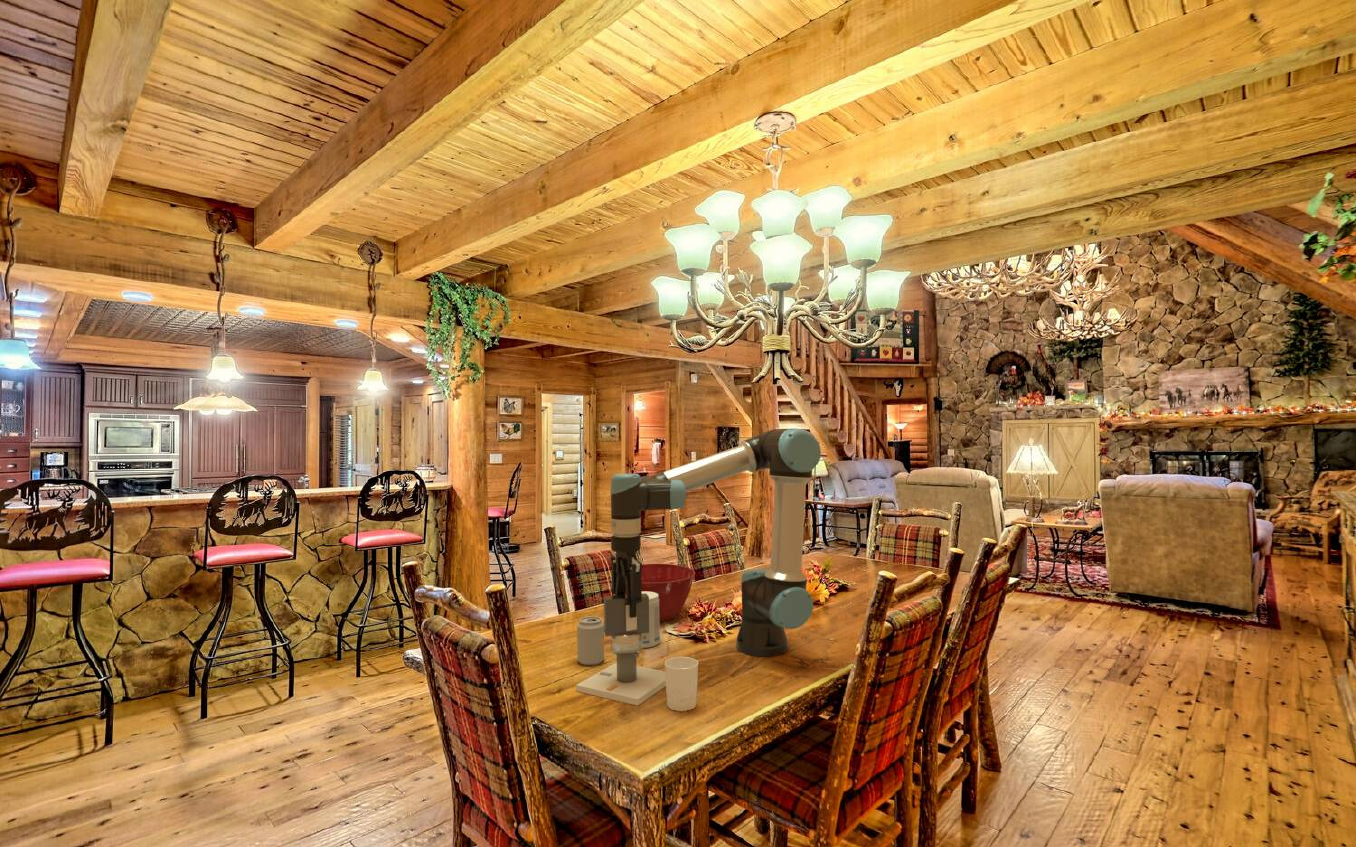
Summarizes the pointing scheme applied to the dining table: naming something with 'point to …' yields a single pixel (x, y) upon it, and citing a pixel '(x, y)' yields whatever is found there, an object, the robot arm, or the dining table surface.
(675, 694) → the white cup
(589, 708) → the dining table surface
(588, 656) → the can
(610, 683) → the post base
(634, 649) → the coupling
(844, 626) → the dining table surface
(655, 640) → the supplement tub
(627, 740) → the dining table surface
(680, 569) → the mixing bowl
